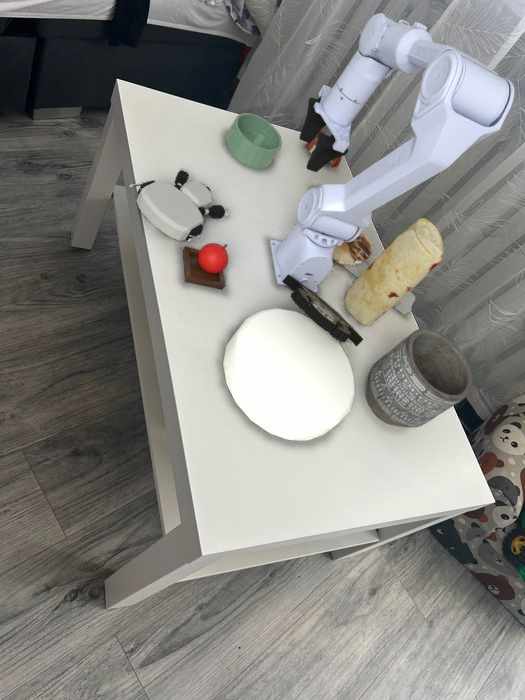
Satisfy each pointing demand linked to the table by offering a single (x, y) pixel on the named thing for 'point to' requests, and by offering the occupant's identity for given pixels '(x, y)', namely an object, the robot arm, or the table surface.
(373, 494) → the table surface
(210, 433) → the table surface
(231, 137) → the bowl
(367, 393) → the planter
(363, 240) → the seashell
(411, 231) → the food model
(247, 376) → the container
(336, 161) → the dentures model
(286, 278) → the emblem
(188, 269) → the coaster
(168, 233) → the robot toy
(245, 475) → the table surface
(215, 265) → the apple
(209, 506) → the table surface
